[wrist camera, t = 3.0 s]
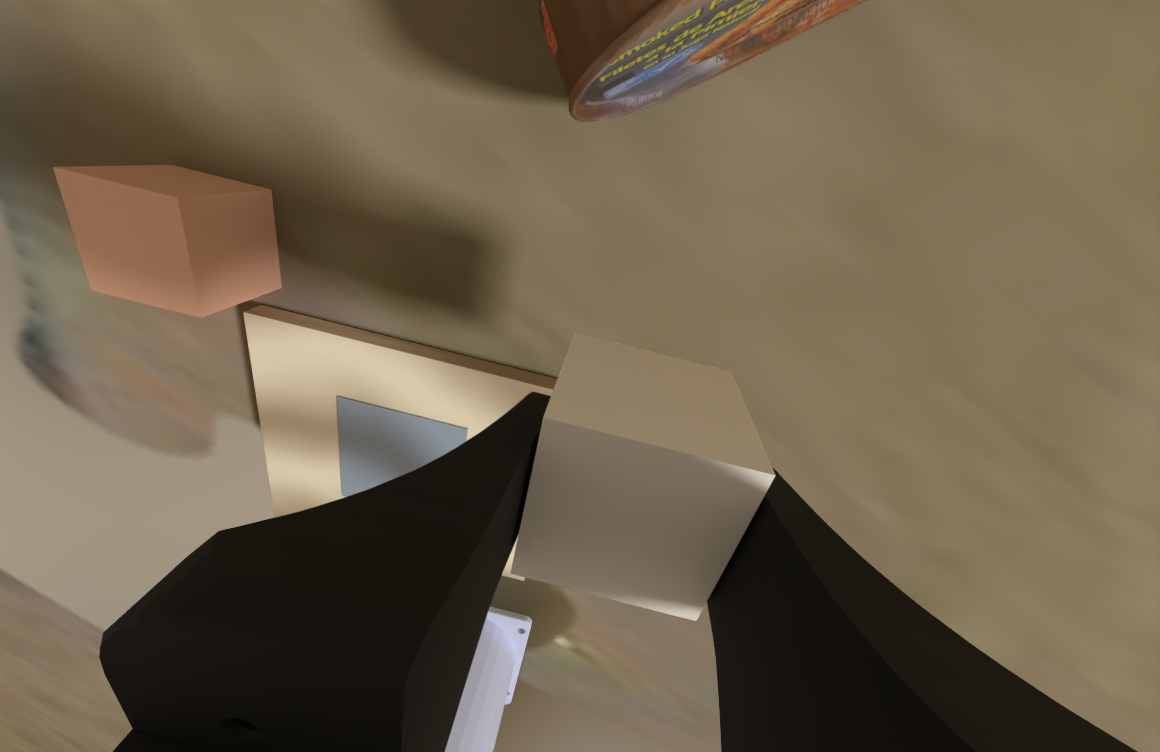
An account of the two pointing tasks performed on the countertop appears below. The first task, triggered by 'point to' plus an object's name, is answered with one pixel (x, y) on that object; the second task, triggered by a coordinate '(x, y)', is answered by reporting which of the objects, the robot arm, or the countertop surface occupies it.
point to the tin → (663, 44)
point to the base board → (364, 405)
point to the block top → (172, 235)
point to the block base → (640, 478)
